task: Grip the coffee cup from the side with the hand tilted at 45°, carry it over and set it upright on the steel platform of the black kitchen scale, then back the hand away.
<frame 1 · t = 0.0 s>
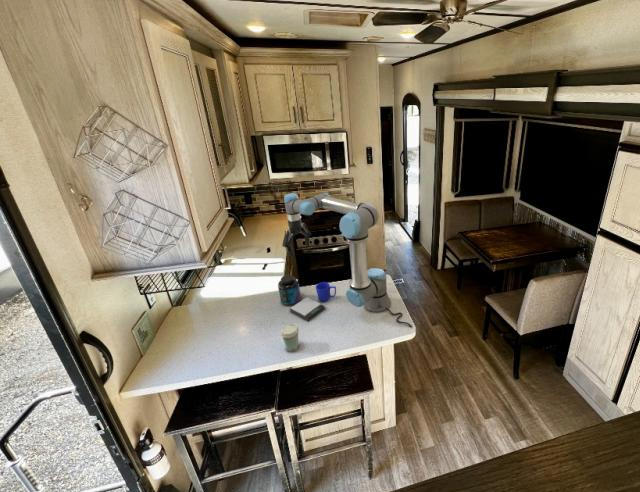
hand: (299, 251, 201), 28 cm above the countertop, tool pointing down, fingers open, 13 cm apart
coffee cup: (292, 347, 166), on the countertop
scale: (307, 310, 193), on the countertop
container: (291, 300, 202), on the countertop
mug: (327, 299, 202), on the countertop
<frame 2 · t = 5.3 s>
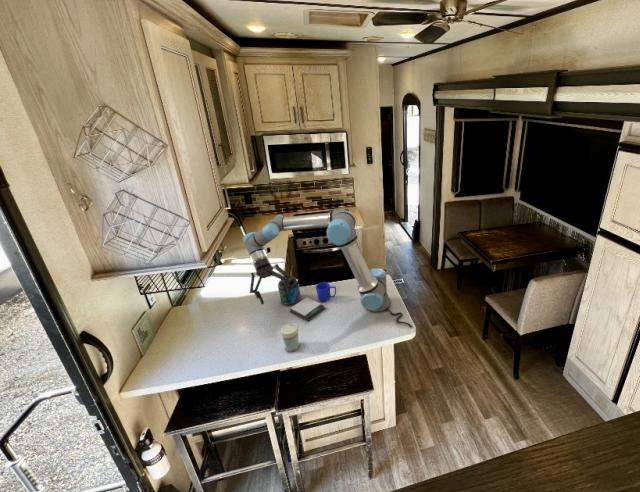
hand: (276, 298, 164), 24 cm above the countertop, tool tilted 45°, fingers open, 13 cm apart
nothing on the countertop moved.
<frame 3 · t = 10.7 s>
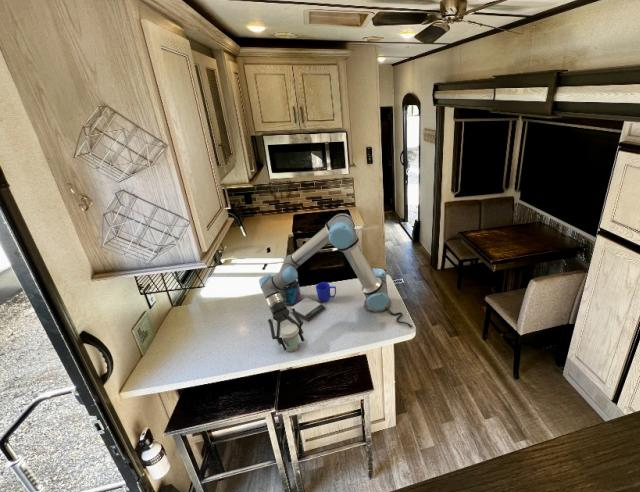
hand: (294, 345, 162), 4 cm above the countertop, tool tilted 45°, fingers closed on coffee cup, 8 cm apart
coffee cup: (292, 347, 166), on the countertop, touching gripper
everything else where it was.
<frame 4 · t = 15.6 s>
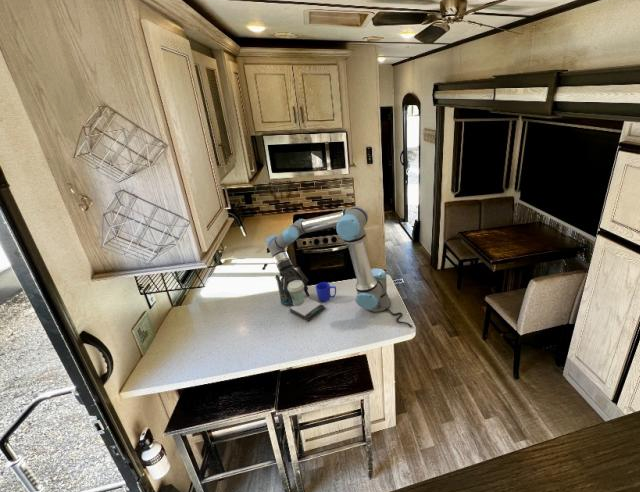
hand: (300, 299, 173), 18 cm above the countertop, tool tilted 45°, fingers closed on coffee cup, 8 cm apart
coffee cup: (298, 302, 177), point 14 cm above the countertop, touching gripper
everything else where it was.
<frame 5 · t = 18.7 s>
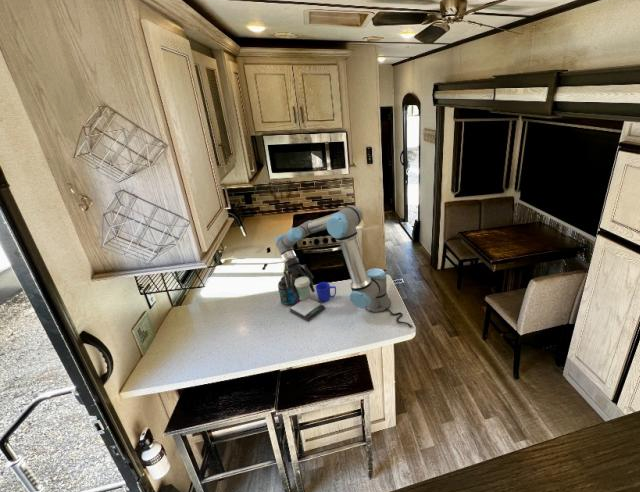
hand: (306, 294, 186), 12 cm above the countertop, tool tilted 45°, fingers closed on coffee cup, 8 cm apart
coffee cup: (304, 297, 190), point 9 cm above the countertop, touching gripper
everything else where it was.
when the fingers open (7 cm above the countertop, at t = 20.8 s): coffee cup stays where it is, resting on scale.
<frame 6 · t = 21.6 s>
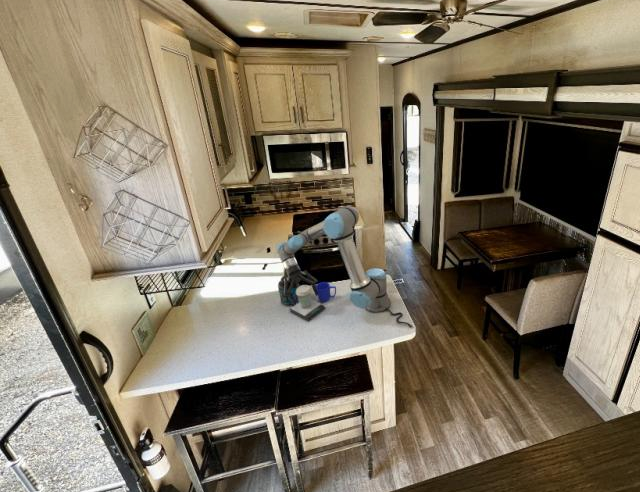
hand: (306, 299, 188), 9 cm above the countertop, tool tilted 45°, fingers open, 13 cm apart
coffee cup: (305, 306, 192), point 3 cm above the countertop, touching scale
everything else where it was.
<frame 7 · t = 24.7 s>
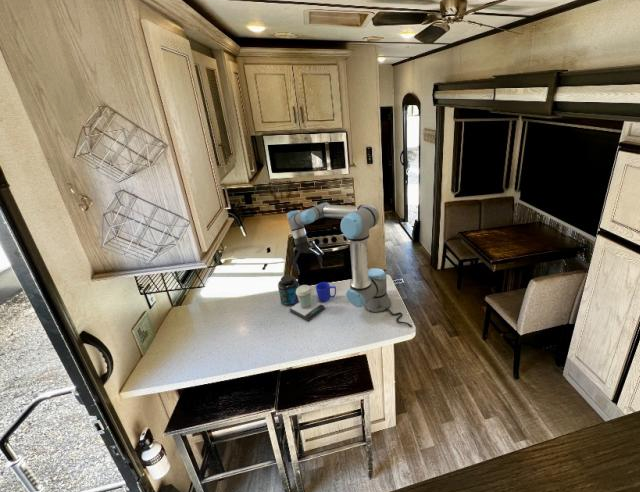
hand: (310, 271, 193), 21 cm above the countertop, tool tilted 25°, fingers open, 13 cm apart
nothing on the countertop moved.
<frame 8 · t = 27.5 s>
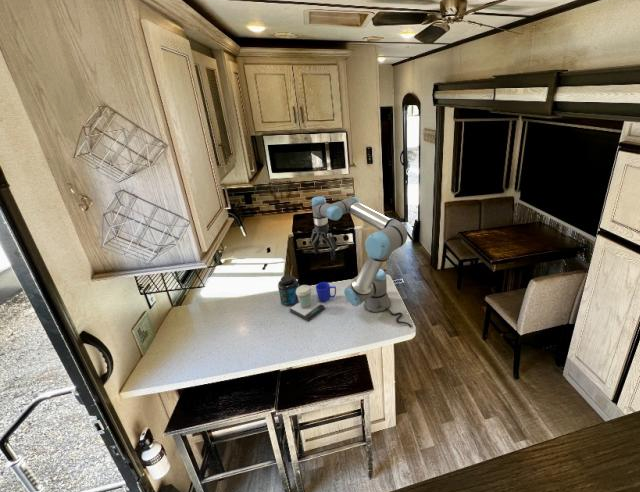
hand: (325, 256, 194), 29 cm above the countertop, tool pointing down, fingers open, 13 cm apart
nothing on the countertop moved.
at the end: coffee cup inside the target area on the scale (0.1 cm from its centre), point 2.8 cm above the scale's base; coffee cup tilted 0°; the gripper is holding nothing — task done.
